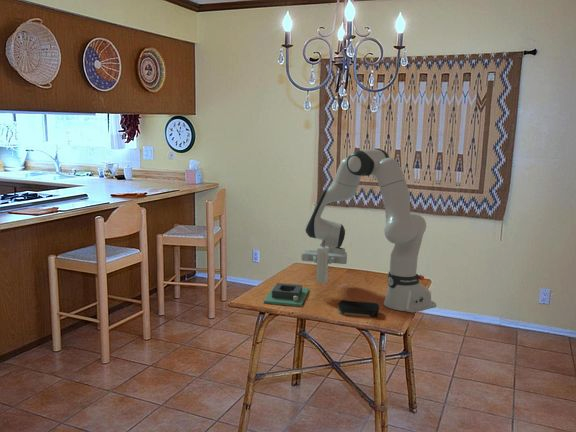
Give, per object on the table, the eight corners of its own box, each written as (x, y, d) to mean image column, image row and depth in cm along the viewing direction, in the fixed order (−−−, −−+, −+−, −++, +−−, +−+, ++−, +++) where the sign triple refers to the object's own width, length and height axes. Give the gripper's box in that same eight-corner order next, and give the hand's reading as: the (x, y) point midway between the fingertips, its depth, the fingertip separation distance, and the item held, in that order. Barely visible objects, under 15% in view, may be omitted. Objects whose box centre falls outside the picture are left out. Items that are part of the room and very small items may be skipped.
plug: (317, 279, 230) (319, 238, 227) (327, 279, 229) (329, 238, 226) (315, 282, 225) (317, 240, 221) (326, 283, 224) (327, 241, 221)
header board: (274, 287, 241) (274, 279, 240) (308, 290, 238) (309, 282, 238) (263, 303, 220) (263, 294, 219) (301, 306, 217) (301, 297, 216)
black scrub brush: (378, 311, 215) (378, 303, 214) (377, 318, 207) (378, 310, 206) (338, 308, 218) (339, 299, 217) (336, 315, 210) (337, 306, 209)
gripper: (303, 245, 240) (298, 252, 226) (348, 248, 236) (346, 256, 223) (303, 258, 241) (298, 266, 227) (347, 262, 237) (345, 270, 224)
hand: (322, 261), depth 225 cm, fingers closed on plug, 4 cm apart
